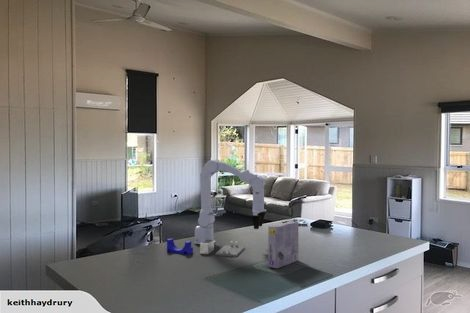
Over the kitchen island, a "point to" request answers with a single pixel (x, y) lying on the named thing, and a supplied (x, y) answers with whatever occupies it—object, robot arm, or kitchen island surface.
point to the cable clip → (174, 249)
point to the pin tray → (230, 250)
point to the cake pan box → (282, 244)
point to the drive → (206, 246)
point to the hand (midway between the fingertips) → (258, 227)
